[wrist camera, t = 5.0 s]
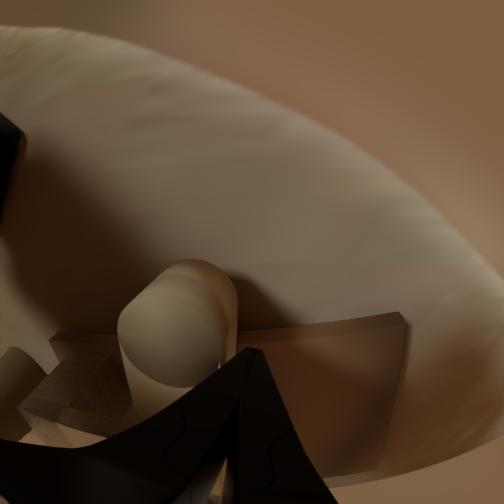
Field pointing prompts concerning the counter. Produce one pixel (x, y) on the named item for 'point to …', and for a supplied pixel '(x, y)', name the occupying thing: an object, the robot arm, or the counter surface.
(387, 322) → the base plate
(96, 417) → the keeper
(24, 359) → the cork
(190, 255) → the counter surface
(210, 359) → the latch arm
